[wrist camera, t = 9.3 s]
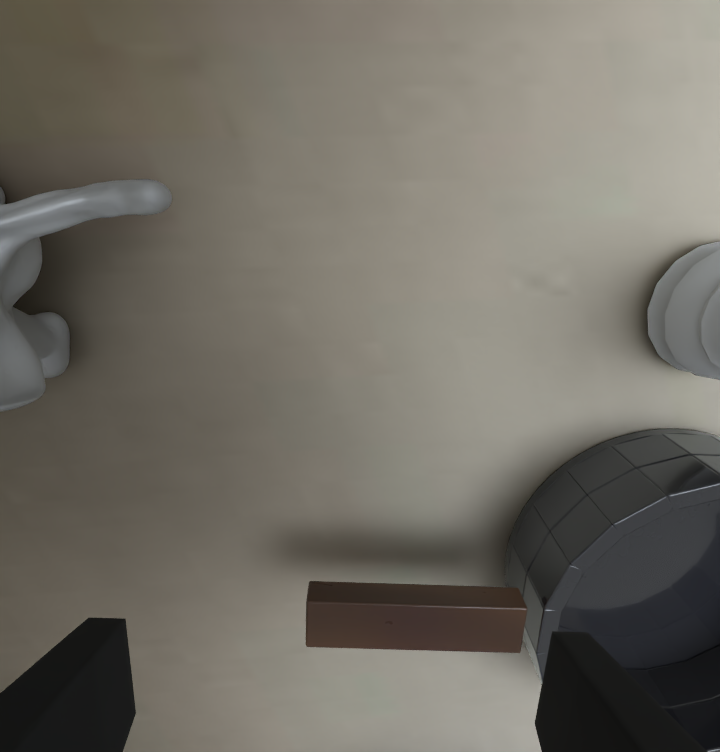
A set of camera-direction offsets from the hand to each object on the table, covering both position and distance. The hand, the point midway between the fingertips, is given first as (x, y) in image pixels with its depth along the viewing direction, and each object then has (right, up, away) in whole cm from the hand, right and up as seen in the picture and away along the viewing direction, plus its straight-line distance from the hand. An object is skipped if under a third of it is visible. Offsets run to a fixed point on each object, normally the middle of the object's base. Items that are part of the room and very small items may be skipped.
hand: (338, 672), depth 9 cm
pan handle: (+2, -3, +9) cm, 9 cm away
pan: (+12, -2, +12) cm, 17 cm away
